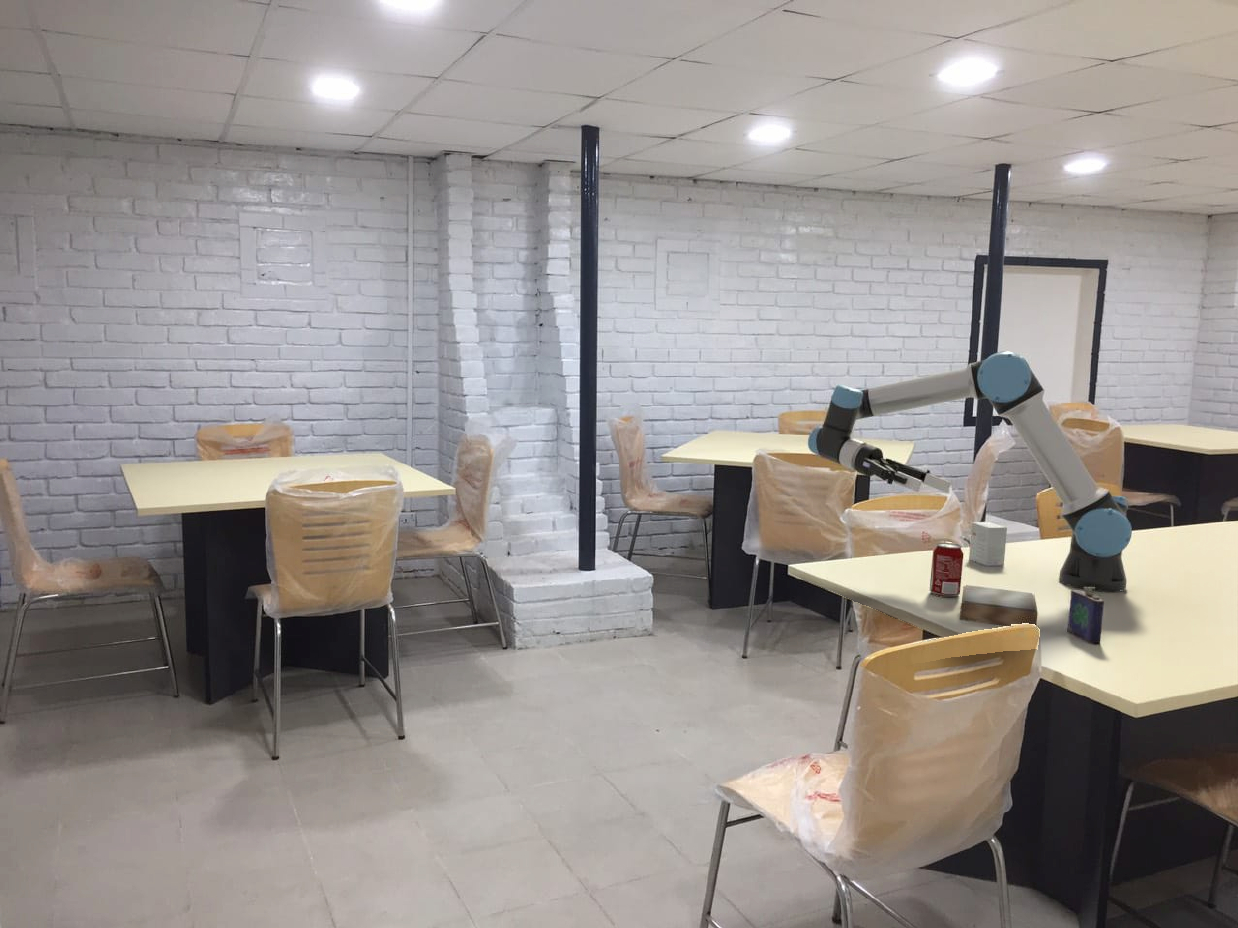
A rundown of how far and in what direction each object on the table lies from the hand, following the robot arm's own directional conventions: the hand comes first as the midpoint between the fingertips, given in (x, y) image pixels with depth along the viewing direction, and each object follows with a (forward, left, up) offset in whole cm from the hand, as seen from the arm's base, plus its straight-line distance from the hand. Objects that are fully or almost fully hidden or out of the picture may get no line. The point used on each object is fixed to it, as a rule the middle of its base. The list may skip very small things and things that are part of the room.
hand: (934, 487), depth 230 cm
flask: (-32, +26, -25) cm, 49 cm away
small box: (-13, -37, -25) cm, 46 cm away
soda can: (-4, +5, -25) cm, 26 cm away
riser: (-16, +17, -24) cm, 34 cm away
